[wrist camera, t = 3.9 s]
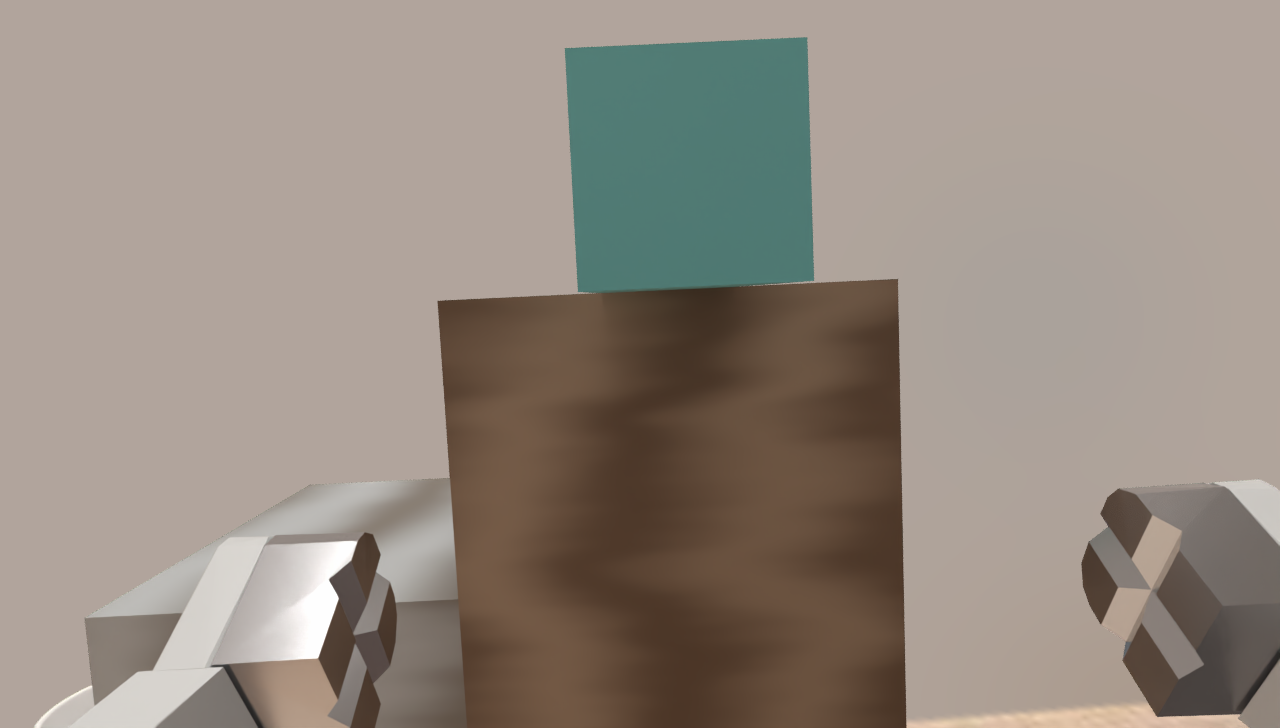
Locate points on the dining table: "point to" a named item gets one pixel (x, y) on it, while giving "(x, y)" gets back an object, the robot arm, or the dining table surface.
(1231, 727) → the dining table surface
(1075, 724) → the dining table surface
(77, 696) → the white cup
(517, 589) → the stand
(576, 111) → the teal bar
